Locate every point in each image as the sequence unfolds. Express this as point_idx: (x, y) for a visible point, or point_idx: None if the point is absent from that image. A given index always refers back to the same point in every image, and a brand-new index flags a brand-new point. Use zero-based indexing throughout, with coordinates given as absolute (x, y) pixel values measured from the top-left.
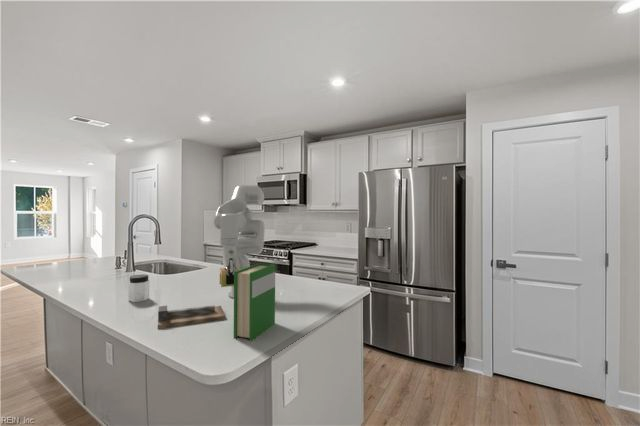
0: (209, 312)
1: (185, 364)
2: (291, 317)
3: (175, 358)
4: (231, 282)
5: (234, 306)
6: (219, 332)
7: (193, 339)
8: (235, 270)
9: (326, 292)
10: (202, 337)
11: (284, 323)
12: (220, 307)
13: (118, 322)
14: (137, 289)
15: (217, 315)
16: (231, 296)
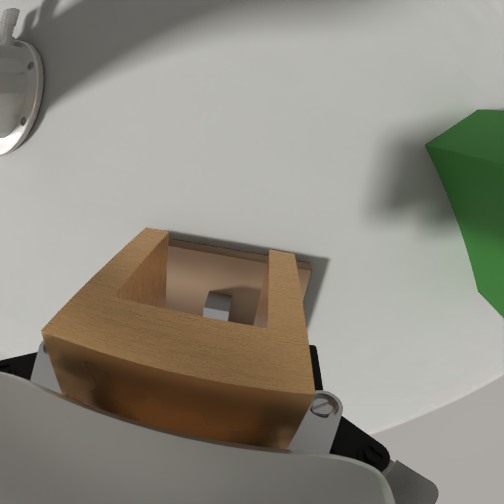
0: (229, 317)
1: (478, 388)
2: (455, 17)
3: (448, 403)
4: (312, 348)
5: None
6: (417, 316)
7: (401, 378)
8: (299, 414)
9: None
10: (409, 360)
11: (493, 84)
12: (169, 251)
13: None
14: None
15: None
16: (16, 146)
